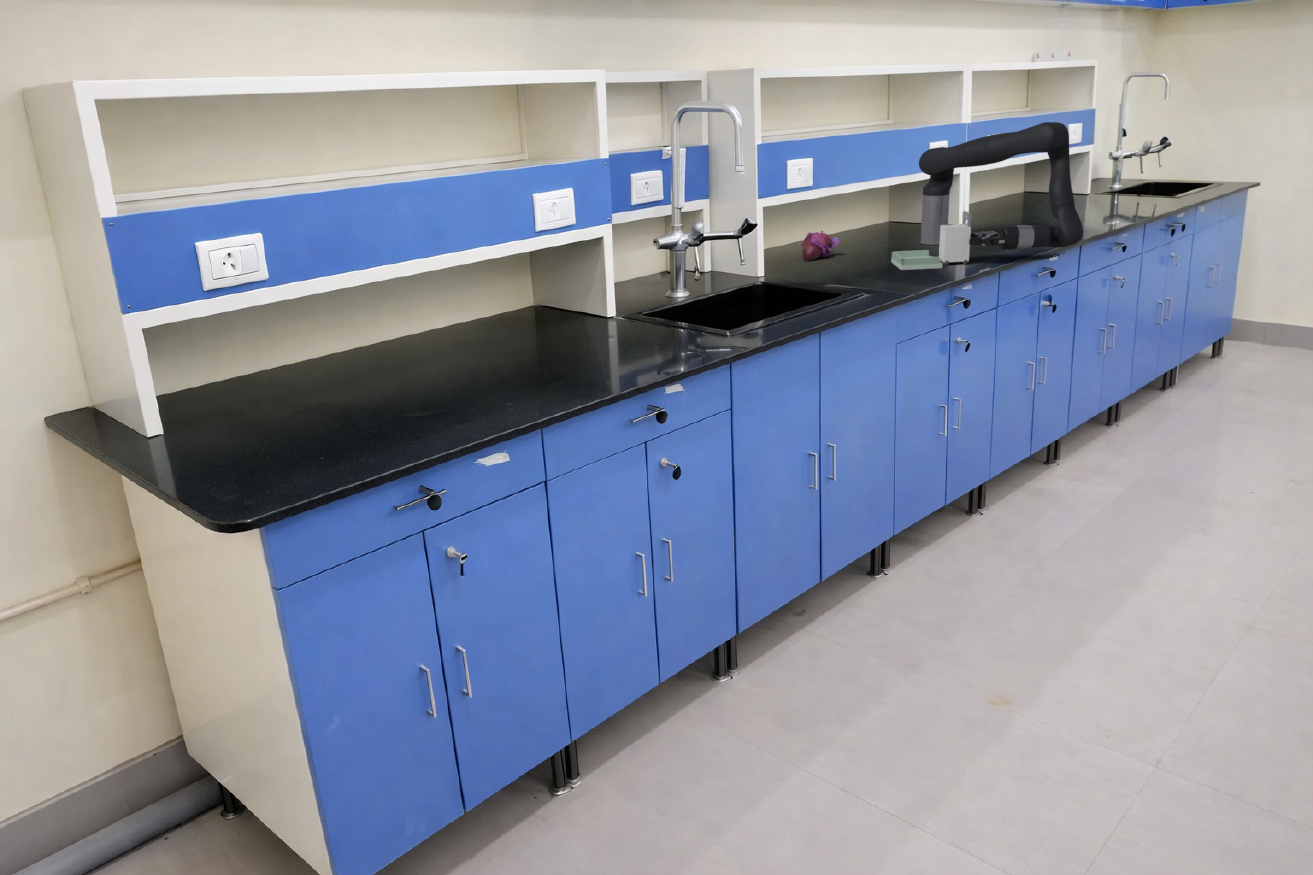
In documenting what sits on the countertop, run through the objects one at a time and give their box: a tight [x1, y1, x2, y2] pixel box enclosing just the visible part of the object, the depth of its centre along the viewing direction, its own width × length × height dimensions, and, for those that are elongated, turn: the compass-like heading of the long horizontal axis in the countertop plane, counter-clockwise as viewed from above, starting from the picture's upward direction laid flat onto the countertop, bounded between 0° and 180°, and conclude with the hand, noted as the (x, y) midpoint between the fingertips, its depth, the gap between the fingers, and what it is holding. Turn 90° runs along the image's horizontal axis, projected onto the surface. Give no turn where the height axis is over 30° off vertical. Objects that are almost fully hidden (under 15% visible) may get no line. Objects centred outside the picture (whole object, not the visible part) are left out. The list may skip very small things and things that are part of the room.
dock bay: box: [890, 249, 943, 271], centre depth 316 cm, size 14×13×4 cm
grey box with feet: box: [938, 210, 972, 266], centre depth 314 cm, size 6×8×16 cm
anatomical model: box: [799, 230, 840, 262], centre depth 336 cm, size 12×10×15 cm
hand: (965, 239), depth 314 cm, fingers open, 8 cm apart
